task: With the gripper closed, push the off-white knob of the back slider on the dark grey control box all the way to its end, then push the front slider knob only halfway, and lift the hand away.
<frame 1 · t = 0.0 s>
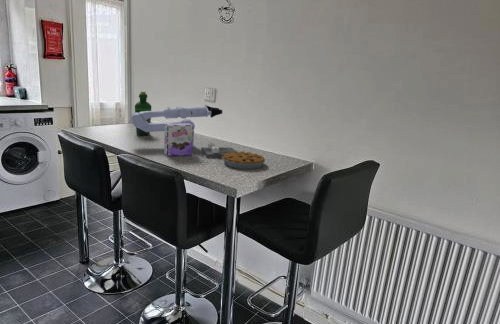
hand: (220, 110, 203), 22 cm above the table, tool horizontal, fingers open, 7 cm apart
candy box: (178, 154, 182), on the table
control box: (219, 154, 189), on the table
pie: (242, 164, 173), on the table
bottle: (143, 135, 225), on the table
slider front: (215, 149, 183), point 4 cm above the table, slide at 0.0 cm
slider back: (211, 145, 191), point 4 cm above the table, slide at 0.0 cm
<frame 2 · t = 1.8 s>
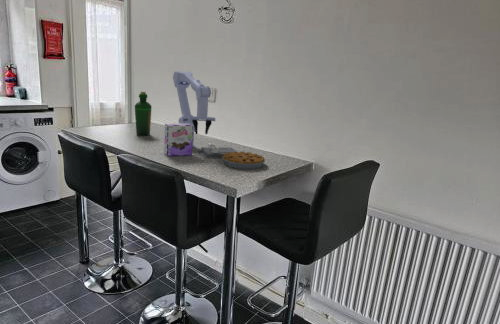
hand: (201, 133, 188), 10 cm above the table, tool pointing down, fingers open, 5 cm apart
nothing on the table moved.
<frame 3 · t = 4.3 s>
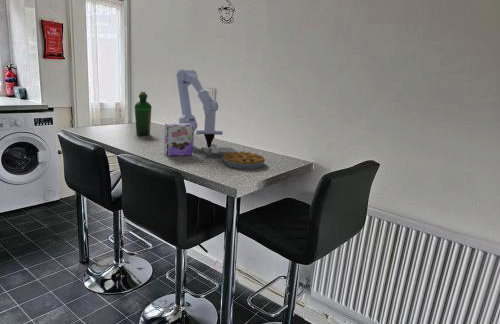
hand: (208, 147, 191), 3 cm above the table, tool pointing down, fingers closed
slider back: (213, 145, 192), point 4 cm above the table, slide at 1.2 cm, touching gripper
everything else where it was.
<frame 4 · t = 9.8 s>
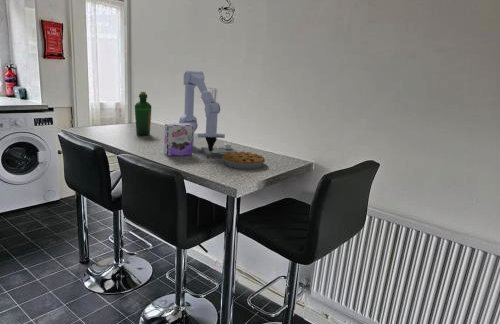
hand: (210, 150, 182), 3 cm above the table, tool pointing down, fingers closed
slider front: (215, 149, 183), point 4 cm above the table, slide at 0.1 cm, touching gripper
slider back: (227, 145, 194), point 4 cm above the table, slide at 9.1 cm
everything else where it was.
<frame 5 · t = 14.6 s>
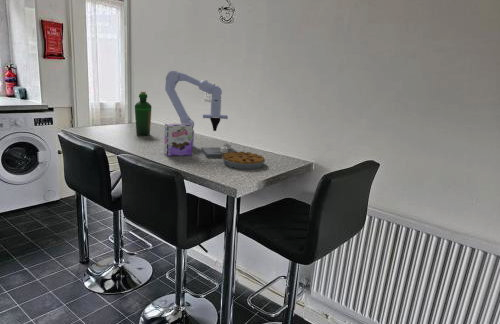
hand: (214, 130, 201), 10 cm above the table, tool pointing down, fingers closed
slider front: (224, 149, 185), point 4 cm above the table, slide at 5.0 cm
everything else where it was.
at the end: slider back slide at 9.1 cm; slider front slide at 5.0 cm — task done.
